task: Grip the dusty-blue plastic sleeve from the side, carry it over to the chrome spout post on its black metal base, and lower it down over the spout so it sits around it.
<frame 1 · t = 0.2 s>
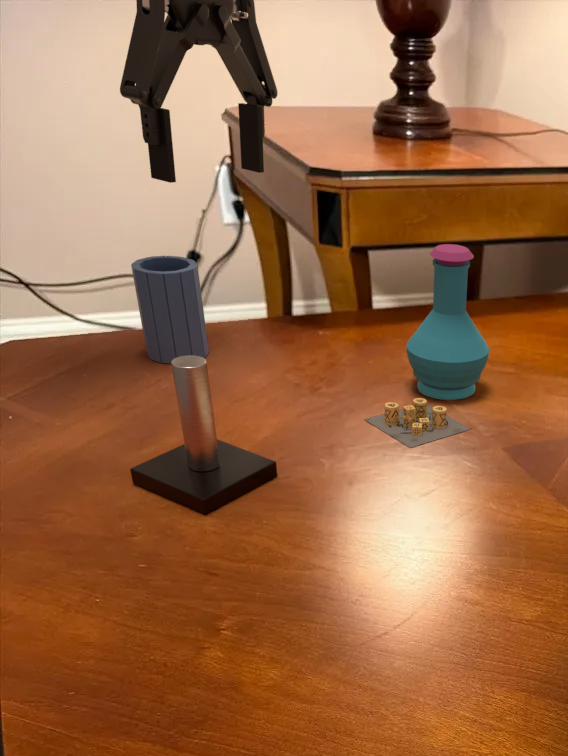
hand: (210, 175, 96), 18 cm above the table, tool pointing down, fingers open, 13 cm apart
perfume bottle: (446, 389, 99), on the table
tap post: (206, 479, 79), on the table
dice set: (417, 425, 91), on the table
blue sleeve: (178, 353, 102), on the table
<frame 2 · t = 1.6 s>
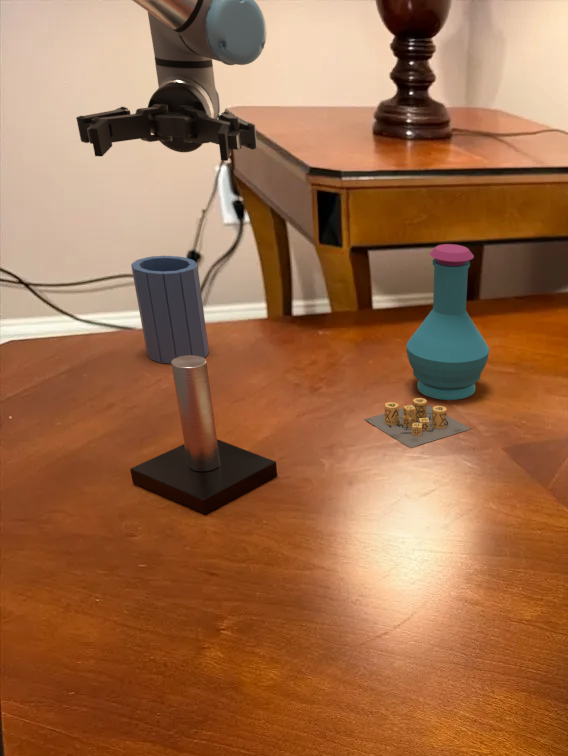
hand: (160, 145, 97), 20 cm above the table, tool horizontal, fingers open, 13 cm apart
nothing on the table moved.
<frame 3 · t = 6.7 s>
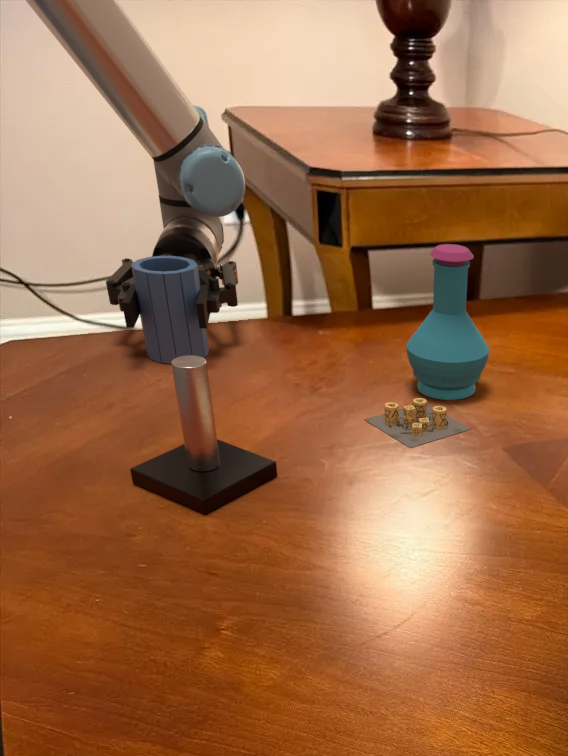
hand: (165, 315, 95), 6 cm above the table, tool horizontal, fingers closed on blue sleeve, 7 cm apart
blue sleeve: (178, 353, 102), on the table, touching gripper
everything else where it was.
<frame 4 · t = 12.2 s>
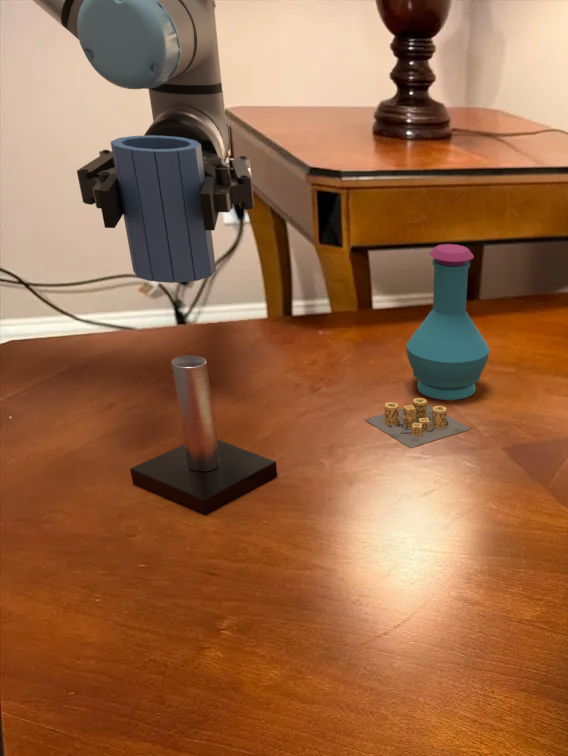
hand: (157, 210, 69), 21 cm above the table, tool horizontal, fingers closed on blue sleeve, 7 cm apart
blue sleeve: (175, 271, 77), point 15 cm above the table, touching gripper
everything else where it was.
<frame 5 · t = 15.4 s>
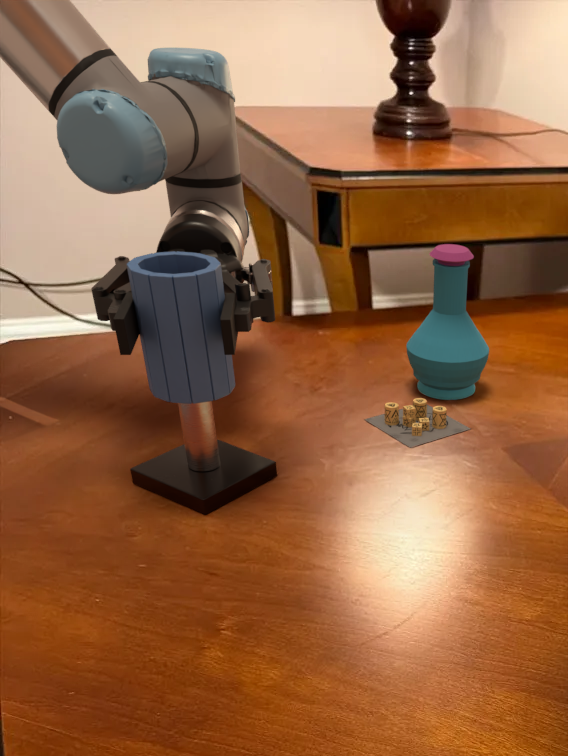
hand: (175, 337, 66), 15 cm above the table, tool horizontal, fingers closed on blue sleeve, 7 cm apart
blue sleeve: (193, 387, 73), point 9 cm above the table, touching gripper
everything else where it was.
when the fingers open (7 cm above the table, at t = 17.7 s): blue sleeve stays where it is, resting on tap post.
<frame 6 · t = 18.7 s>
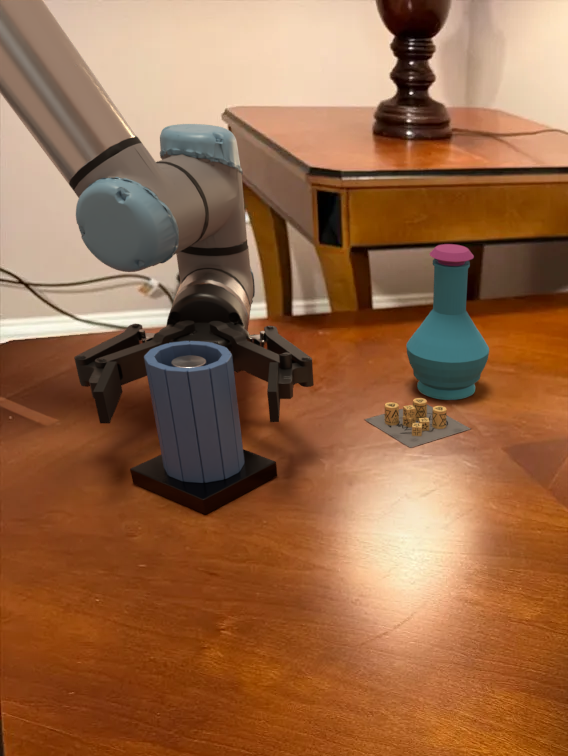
hand: (188, 407, 71), 8 cm above the table, tool horizontal, fingers open, 13 cm apart
blue sleeve: (204, 464, 78), point 1 cm above the table, touching tap post
everything else where it was.
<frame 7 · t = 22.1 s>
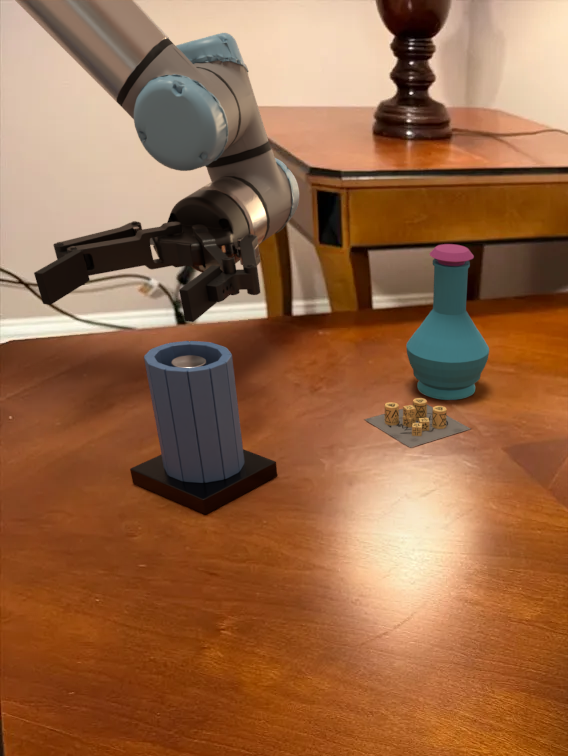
hand: (113, 297, 76), 14 cm above the table, tool horizontal, fingers open, 13 cm apart
nothing on the table moved.
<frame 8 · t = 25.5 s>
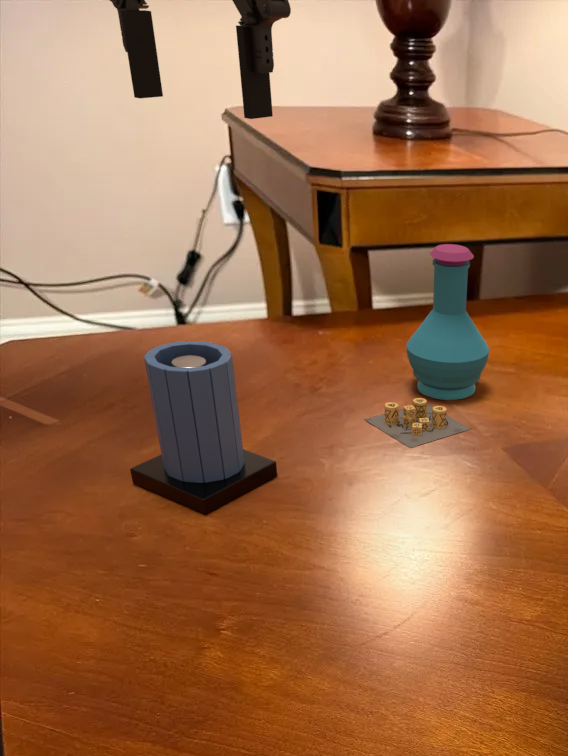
hand: (202, 107, 78), 27 cm above the table, tool pointing down, fingers open, 13 cm apart
nothing on the table moved.
at the end: blue sleeve 0.0 cm off-centre on the tap post, point 1.5 cm above the tap post's base; blue sleeve tilted 0°; the gripper is holding nothing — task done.
